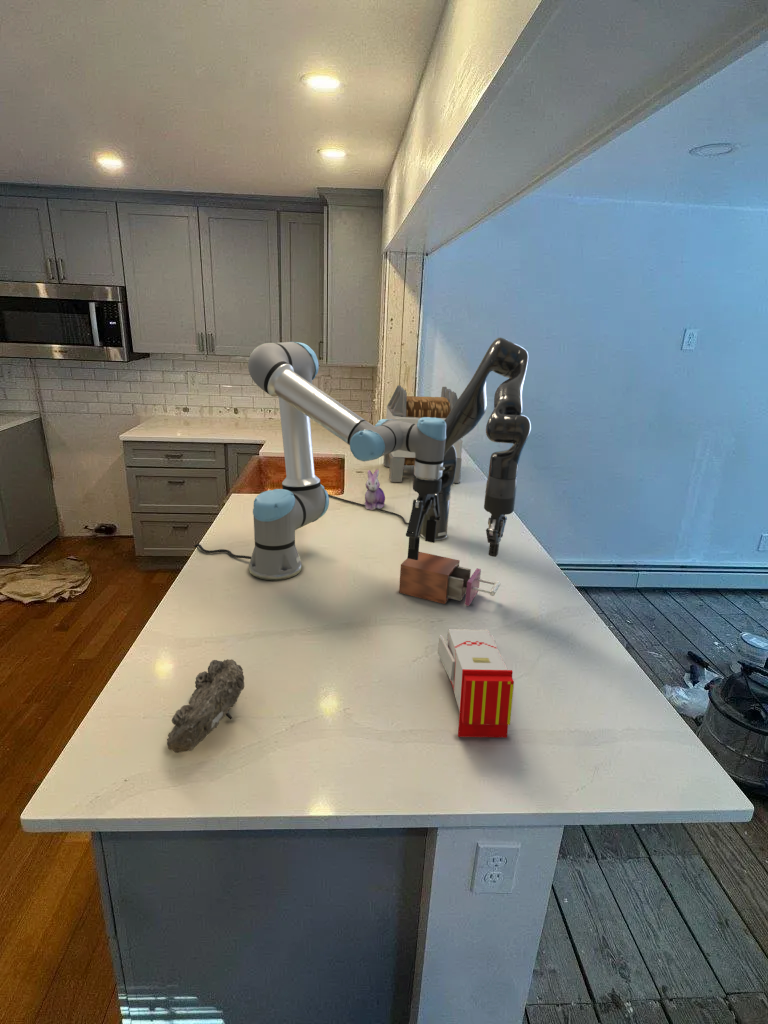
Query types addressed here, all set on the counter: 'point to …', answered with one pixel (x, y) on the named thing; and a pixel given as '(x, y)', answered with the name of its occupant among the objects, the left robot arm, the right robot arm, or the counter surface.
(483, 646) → the toy
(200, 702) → the fossil
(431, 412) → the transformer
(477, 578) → the drawer
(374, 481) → the figurine
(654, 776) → the counter surface
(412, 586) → the cabinet
